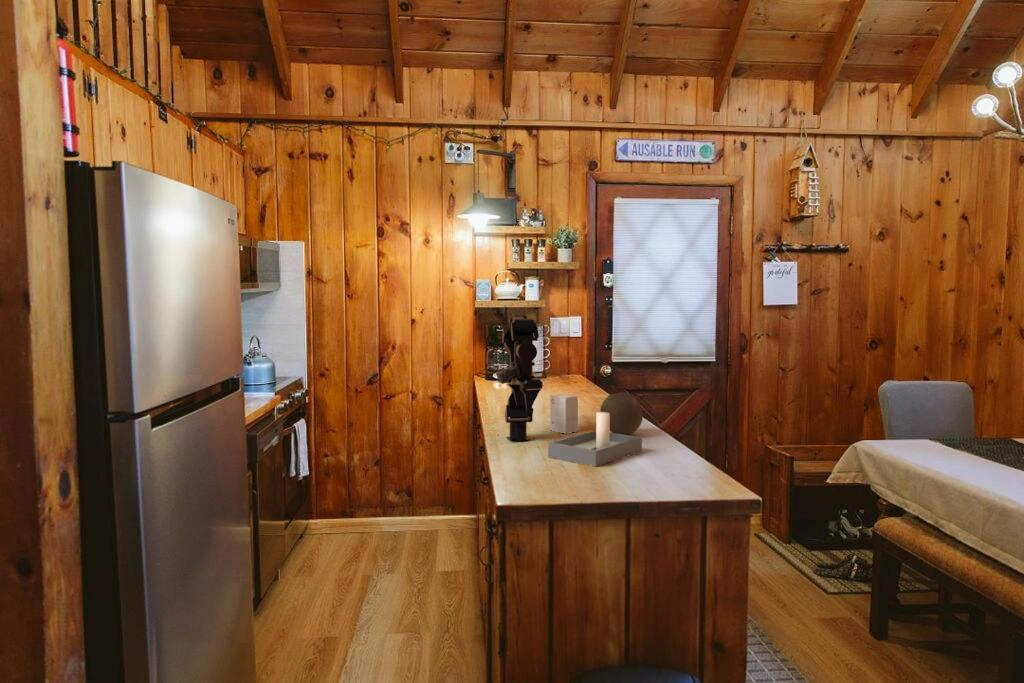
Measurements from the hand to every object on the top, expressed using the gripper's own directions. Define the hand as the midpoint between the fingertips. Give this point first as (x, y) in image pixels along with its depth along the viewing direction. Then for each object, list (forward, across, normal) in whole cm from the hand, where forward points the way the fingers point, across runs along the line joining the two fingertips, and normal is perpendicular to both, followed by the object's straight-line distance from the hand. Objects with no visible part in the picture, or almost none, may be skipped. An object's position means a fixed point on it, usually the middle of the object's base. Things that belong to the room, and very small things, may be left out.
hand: (523, 408), depth 205 cm
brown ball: (+13, -9, +39) cm, 42 cm away
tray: (+13, +13, +19) cm, 26 cm away
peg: (+13, +15, +20) cm, 28 cm away
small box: (+13, -22, +23) cm, 34 cm away
